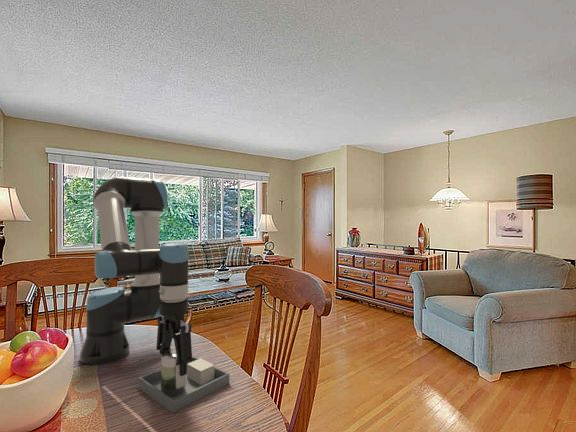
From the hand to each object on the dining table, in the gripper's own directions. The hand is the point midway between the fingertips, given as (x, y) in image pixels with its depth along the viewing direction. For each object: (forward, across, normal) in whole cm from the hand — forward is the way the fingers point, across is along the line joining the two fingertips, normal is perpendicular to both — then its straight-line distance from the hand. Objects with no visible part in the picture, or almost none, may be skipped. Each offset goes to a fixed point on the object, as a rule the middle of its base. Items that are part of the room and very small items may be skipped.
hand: (173, 381), depth 86 cm
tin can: (+3, 0, 0) cm, 3 cm away
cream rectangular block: (+3, 0, +9) cm, 9 cm away
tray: (+3, 0, +4) cm, 5 cm away
